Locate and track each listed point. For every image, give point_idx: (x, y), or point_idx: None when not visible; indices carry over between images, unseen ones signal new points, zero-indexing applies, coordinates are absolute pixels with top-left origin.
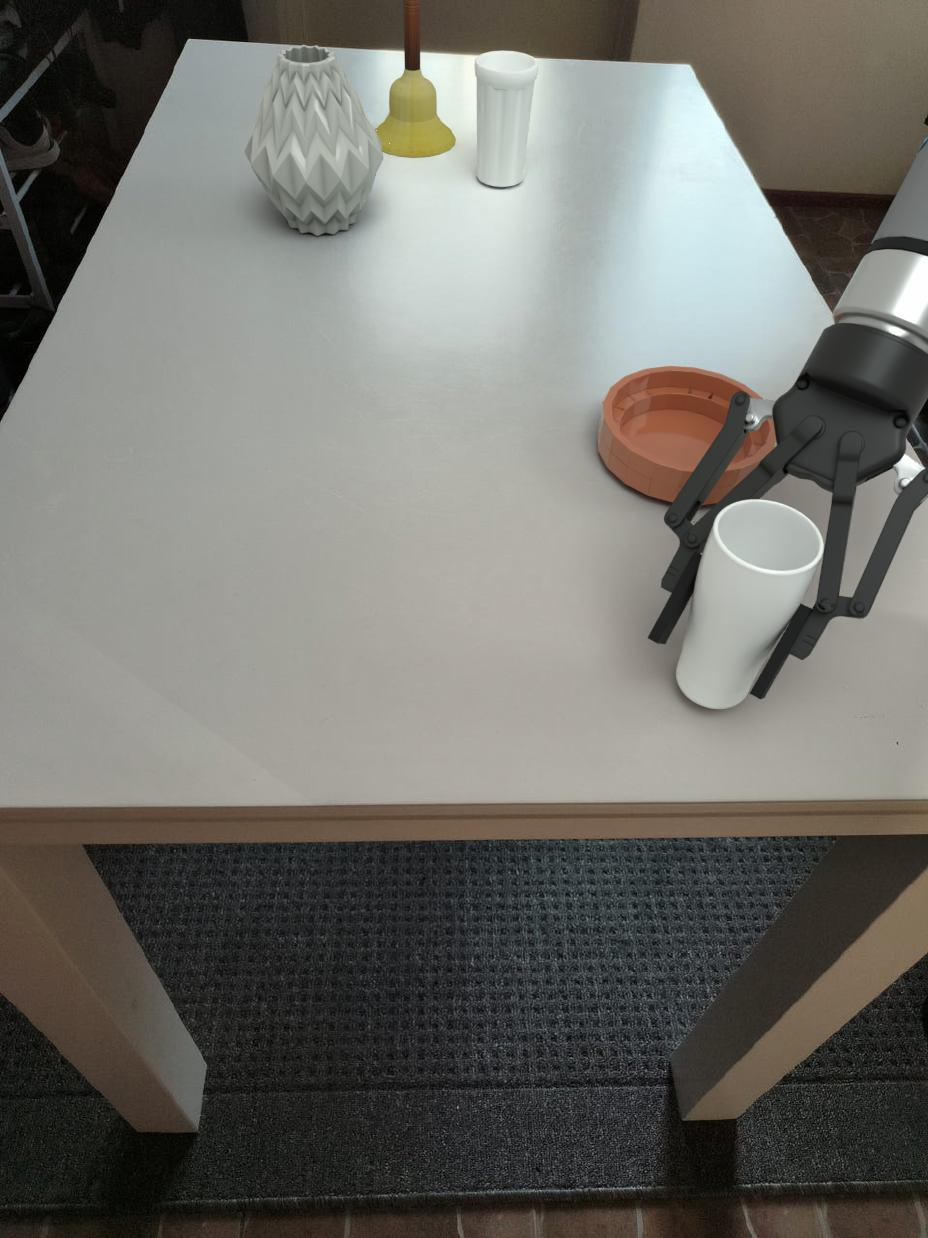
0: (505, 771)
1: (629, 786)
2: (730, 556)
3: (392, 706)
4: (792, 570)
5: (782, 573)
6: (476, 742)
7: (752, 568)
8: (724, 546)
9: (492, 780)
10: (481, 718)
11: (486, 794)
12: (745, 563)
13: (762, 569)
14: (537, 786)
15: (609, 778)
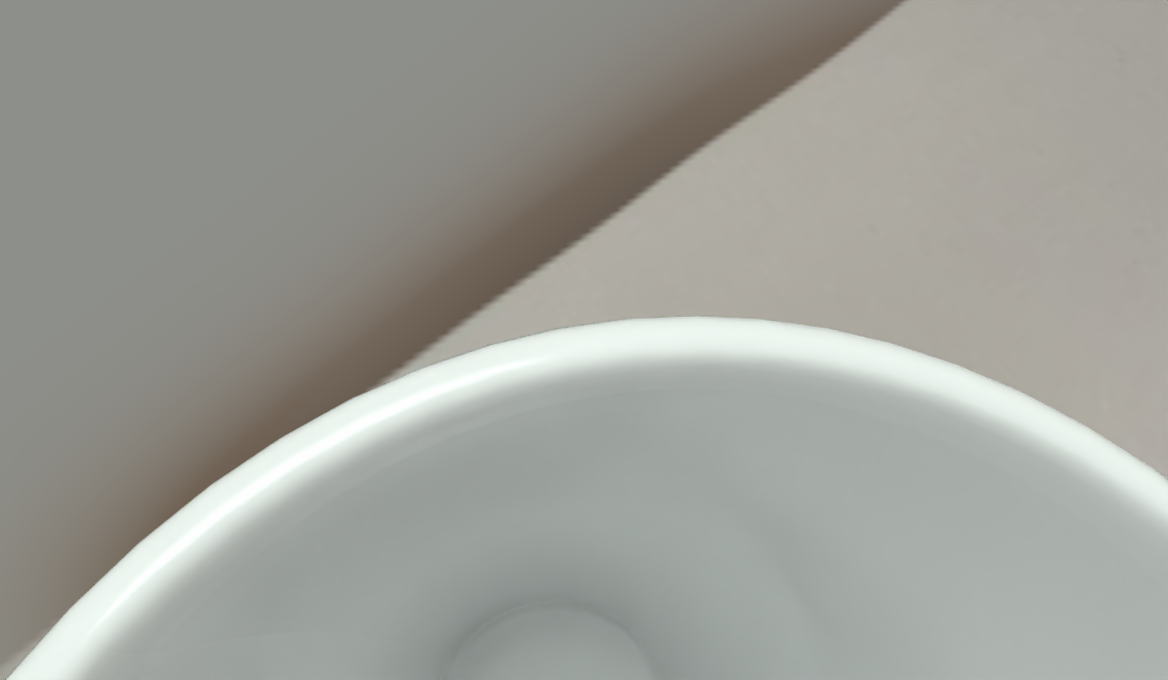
0: (787, 163)
1: (553, 290)
2: (901, 349)
3: (1069, 150)
4: (89, 627)
5: (219, 480)
6: (882, 182)
7: (597, 333)
8: (1063, 432)
9: (791, 133)
10: (923, 235)
11: (776, 103)
12: (704, 324)
13: (483, 359)
14: (712, 173)
15: (602, 280)
